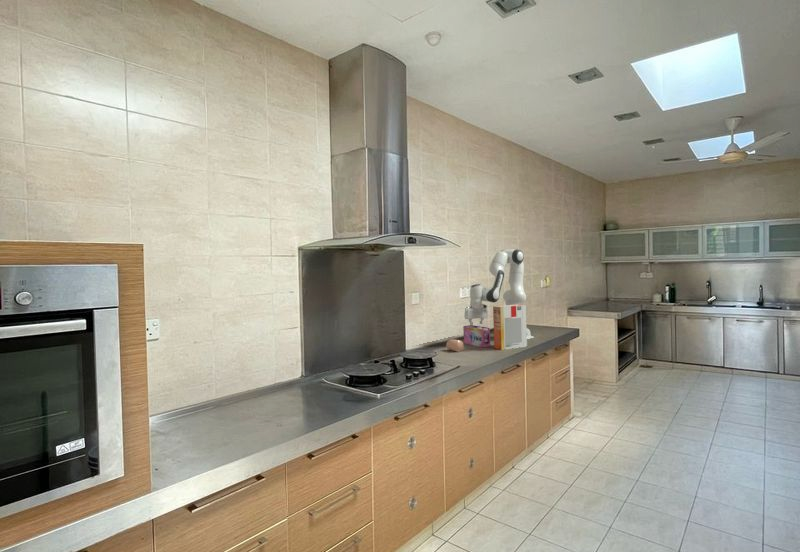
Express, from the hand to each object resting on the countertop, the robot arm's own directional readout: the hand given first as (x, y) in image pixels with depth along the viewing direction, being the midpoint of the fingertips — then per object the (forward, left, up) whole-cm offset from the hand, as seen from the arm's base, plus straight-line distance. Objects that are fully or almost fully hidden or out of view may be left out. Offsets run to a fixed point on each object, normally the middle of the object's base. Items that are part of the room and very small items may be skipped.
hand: (476, 324), depth 322 cm
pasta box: (-11, +24, -16) cm, 30 cm away
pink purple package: (0, 0, -16) cm, 16 cm away
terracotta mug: (+27, +3, -12) cm, 29 cm away
